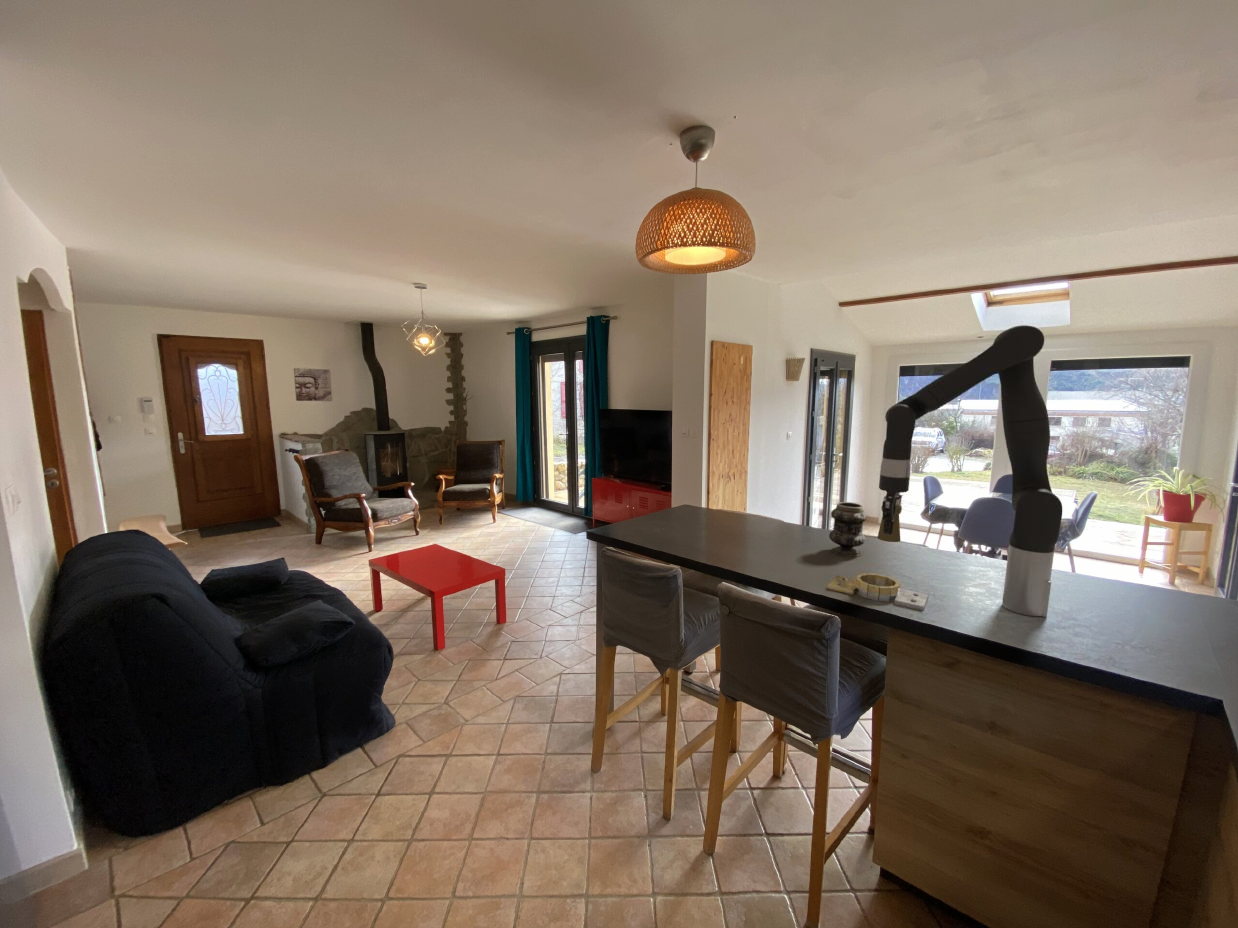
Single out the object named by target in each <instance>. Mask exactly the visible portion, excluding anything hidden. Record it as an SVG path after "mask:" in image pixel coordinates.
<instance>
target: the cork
mask: <svg viewBox="0 0 1238 928" xmlns="http://www.w3.org/2000/svg"><path fill="white" fill-rule="evenodd" d="M894 510H895V507H894V508H893V511H894ZM881 511H882V512H881V513H883V504H882V505H881ZM902 511H903V507H902V505H900V504H898V507H897V513H896V514H895V516H894V522H893V530H892V534H888V533H887V534H885V533H884V520H883V518H882V517H883V515H882V517H881V520H880V521H881V522H880V525H879V528H878V533H877V539H878V540H880V541H883V542H888V543H899V542H901V525H900V524H901V523H900V514H901V513H902ZM887 516H890V514H888V513H887Z"/></svg>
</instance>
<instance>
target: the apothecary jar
mask: <svg viewBox="0 0 1238 928" xmlns="http://www.w3.org/2000/svg"><path fill="white" fill-rule="evenodd" d="M835 507H836V508H834V509H832V511H831V512H830V514H831V517H832V519H834V522H833V528H832V530H831V531H830V532H829V534H828V537H829V539H830V540H831V541H832V542H833V543H834V544H836V545H838V546H835V547H833V548H832V549H831V552H832V553H834V554H836V555H839V556H844V557H860V556H861V555H862V552H861V551H860V550H858V549H857V548H855V547H860V546H863V544H865V542H866V536H865V535H864V534H863V525H864V522H866V520H867V519H868V515H867V513H866V512H865V511H864V508H863V507H864V506H863V505H862V504H860V503H856V502H850V501H839V502H838V503H837V504H836V506H835Z"/></svg>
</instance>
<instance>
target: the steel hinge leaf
mask: <svg viewBox="0 0 1238 928" xmlns="http://www.w3.org/2000/svg"><path fill="white" fill-rule="evenodd" d="M865 582H866V583H868V584H871V585H876V586H884V587H889V586H890V585H888V584H885V583H881V582H876V581H865ZM855 593H857V595H858V596H861V597H863V598H865V599H868V600H872V601H876V602H885V603H886V602H887V603H889V602H894V603H893V604H894V605H897V606H900V607H901V606H902V607H906V608H910V609H914V610H918V611H923V612H924V611H925V608H926V605H927V603H928V601H929V593H928V594H927V593H923V592H919V591H912V590H910V589H909V590H908V589H904V588H900V590H899V592H898V593H897V594H892V595H881V594H875V593H870V592H867V591H864V590H862V589H860V588H858V586H857V585H856V591H855Z"/></svg>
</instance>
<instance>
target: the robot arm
mask: <svg viewBox="0 0 1238 928" xmlns="http://www.w3.org/2000/svg"><path fill="white" fill-rule="evenodd" d="M1044 344H1045V336H1044V333H1043V332H1042V331H1041V330H1040V329H1039V328H1038V327H1036V326H1033V325H1031V324H1029V325H1028V324H1022V325H1021V324H1020V325H1015V326H1013V327H1010V328H1008V329H1005V330H1003V331H1002V332H1001V333H999V334H998V335H997V336H996V338H994V341H993V343H992V344H991V345H990V346H989V347H988V348H987V349H986V350H984V351H983V352H981V353H980V354H978V355H977V356H975V357H973V358H972V359H970V360H968V361H967V362H965V363H963V364H962V365H960V366H958V367H956V368H954V369H951V370H950V371H948V372H947V373H945V374H943V375H942V376H940V377H938V378H935V380H933V381H931V382H930V383H927V385H925V386H923V387H922V388H921V389H919V390H918V391H917V392H916V391H915V393H914V394H912V395H910V396H908V397H906V398H904V399H902V400H901V401H899V402H897V403H895V404H894V405H892V406H891V407H889V408H888V409H887V411H886V412H885V415H884V417H885V421H886V431H885V440H884V442H883V449H882V459H881V464H880V473H879V483H878V488H879V490H881V491H883V492H886V495H885V496H884V497H883V500H882V504H883V512H882V516H883V517H881V519H882V518H883V520H884V533H885V534H887V533H888V534H892V530H893V522H894V516H895V514H896V513H897V507H898V504H900V505H901V504H902V498H903V496H902V495H901V493H907V492H909V488H910V479H911V478H910V477H911V470H912V468H911V458H912V457H911V456H912V443H913V442H912V441H913V437H914V432H915V428H916V421H917V420H919V419H920V418H922V417H924V416H925V415H927V414H928V413H931V412H935V411H937V410H938V409H940V408H942V407H945V405H947V404H948V403H950V402H952V401H954V400H955V399H956V398H958V397H960V396H961V395H963V394H965V393H966V392H968V391H969V390H971V389H972V388H973V387H975V386H977V385H979V384H980V383H982V382H984V381H986V380H987V379H989V378H991V377H992V376H994V375H996V374H998V378H999V384H1000V399H1001V400H1000V403H1001V414H1002V424H1003V426H1002V427H1003V432H1004V433H1003V435H1004V440H1005V445H1006V449H1007V450H1006V451H1007V454H1008V459H1009V463H1010V468H1011V476H1012V477H1011V479H1012V480H1011V481H1012V483H1011V484H1012V486H1011V487H1012V488H1011V489H1012V490H1011V504H1012V508H1013V510H1014V512H1015V513H1014V522H1013V529H1012V532H1011V534H1010V536H1009V541H1008V543H1009V544H1008V552H1007V560H1006V568H1005V578H1004V586H1003V594H1002V606H1003V607H1004V608H1005V609H1006V610H1008V611H1011V612H1012V613H1017V614H1021V615H1025V616H1030V617H1042V618H1047V617H1048V609H1049V604H1050V602H1049V601H1050V595H1051V588H1052V580H1051V578H1052V571H1053V563H1054V554H1055V548H1056V544H1057V542H1058V540H1059V536H1060V532H1061V525H1062V519H1063V518H1062V517H1063V505H1062V504H1063V503H1062V502H1061V500H1060V498H1059V497H1058V496H1057V495H1056V494H1055V493H1053V491H1052V488H1051V484H1050V479H1049V474H1048V468H1047V467H1048V464H1047V463H1048V456H1049V450H1050V444H1051V428H1050V420H1049V413H1048V409H1047V406H1046V403H1045V400H1044V397H1043V395H1042V394H1041V391H1040V389H1039V386H1038V384H1037V382H1036V381H1037V380H1036V377H1035V364H1034V363H1035V362H1034V360H1035V359H1034V358H1035V357H1036V356H1037V355H1038V354H1039V353H1040V352H1041V351H1042V349H1043V348H1044ZM901 506H902V505H901ZM894 507H895V510H894V511H893V508H894ZM887 513H888V514H890V516H887Z"/></svg>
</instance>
